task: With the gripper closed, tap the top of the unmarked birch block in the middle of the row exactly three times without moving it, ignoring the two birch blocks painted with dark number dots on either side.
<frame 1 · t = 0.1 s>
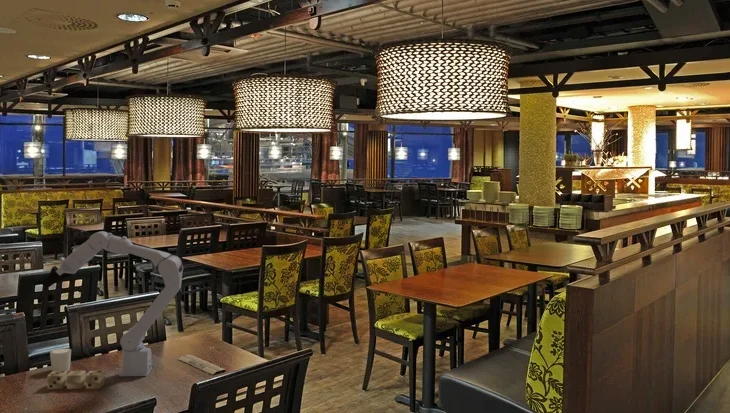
hand: (49, 283, 213), 32 cm above the table, tool tilted 50°, fingers open, 7 cm apart
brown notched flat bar: (200, 368, 227), on the table
dotted block three: (57, 386, 204), on the table
plain block: (76, 386, 204), on the table
cream short cylinder: (61, 370, 219), on the table
dotted block two: (95, 386, 205), on the table
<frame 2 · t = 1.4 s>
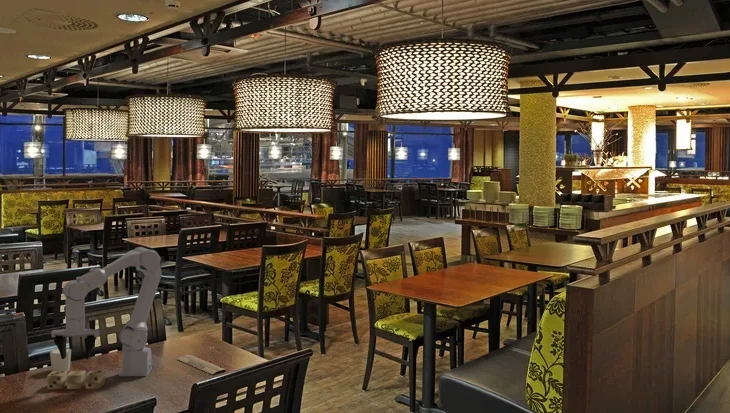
hand: (76, 358, 204), 9 cm above the table, tool pointing down, fingers open, 7 cm apart
nothing on the table moved.
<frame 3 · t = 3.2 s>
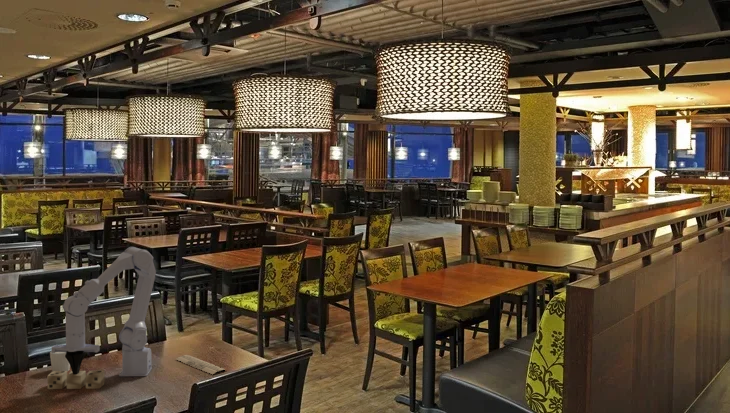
hand: (76, 373, 204), 4 cm above the table, tool pointing down, fingers closed, pressing on plain block
plain block: (76, 386, 204), on the table, touching gripper
everything else where it was.
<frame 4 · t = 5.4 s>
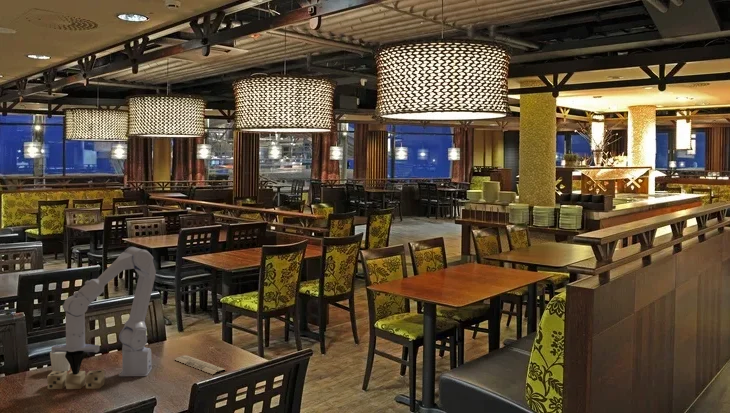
hand: (76, 373, 204), 4 cm above the table, tool pointing down, fingers closed, pressing on plain block
plain block: (75, 386, 204), on the table, touching gripper
everything else where it was.
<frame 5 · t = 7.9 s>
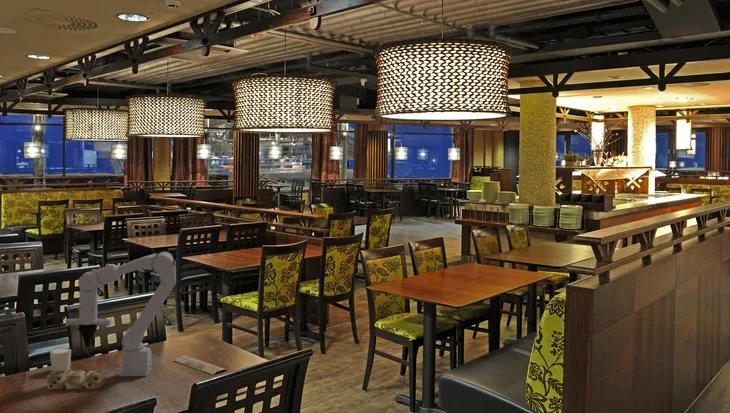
hand: (88, 346, 214), 10 cm above the table, tool pointing down, fingers closed
plain block: (75, 386, 204), on the table
at the end: plain block moved 0.3 cm from its start; plain block tilted 0°; dotted block two moved 0.1 cm from its start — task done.
